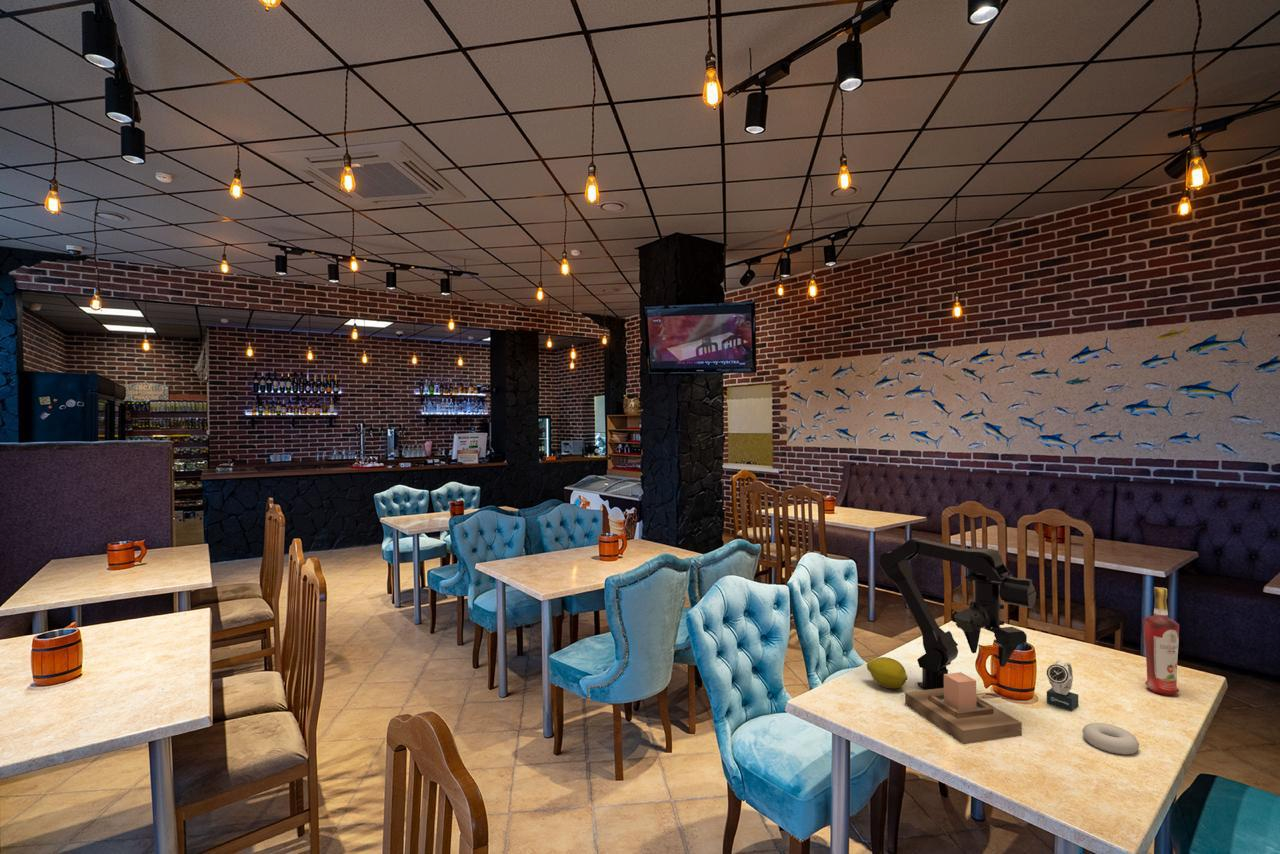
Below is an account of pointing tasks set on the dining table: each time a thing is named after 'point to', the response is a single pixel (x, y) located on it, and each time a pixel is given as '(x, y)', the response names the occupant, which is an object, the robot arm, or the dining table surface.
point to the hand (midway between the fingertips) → (987, 659)
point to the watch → (1061, 686)
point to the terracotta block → (960, 691)
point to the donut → (1110, 738)
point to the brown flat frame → (964, 717)
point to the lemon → (887, 672)
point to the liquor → (1161, 647)
